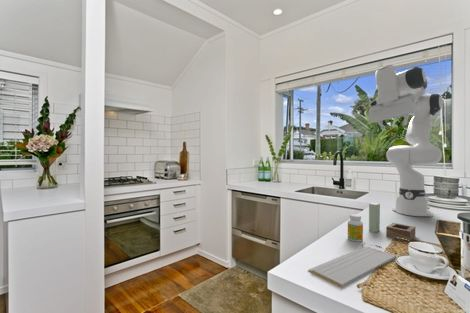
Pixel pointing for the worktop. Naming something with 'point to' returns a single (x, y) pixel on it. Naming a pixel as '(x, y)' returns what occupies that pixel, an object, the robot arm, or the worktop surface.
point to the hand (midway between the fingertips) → (393, 127)
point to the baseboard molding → (352, 265)
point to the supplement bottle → (355, 228)
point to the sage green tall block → (374, 217)
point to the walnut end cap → (400, 231)
